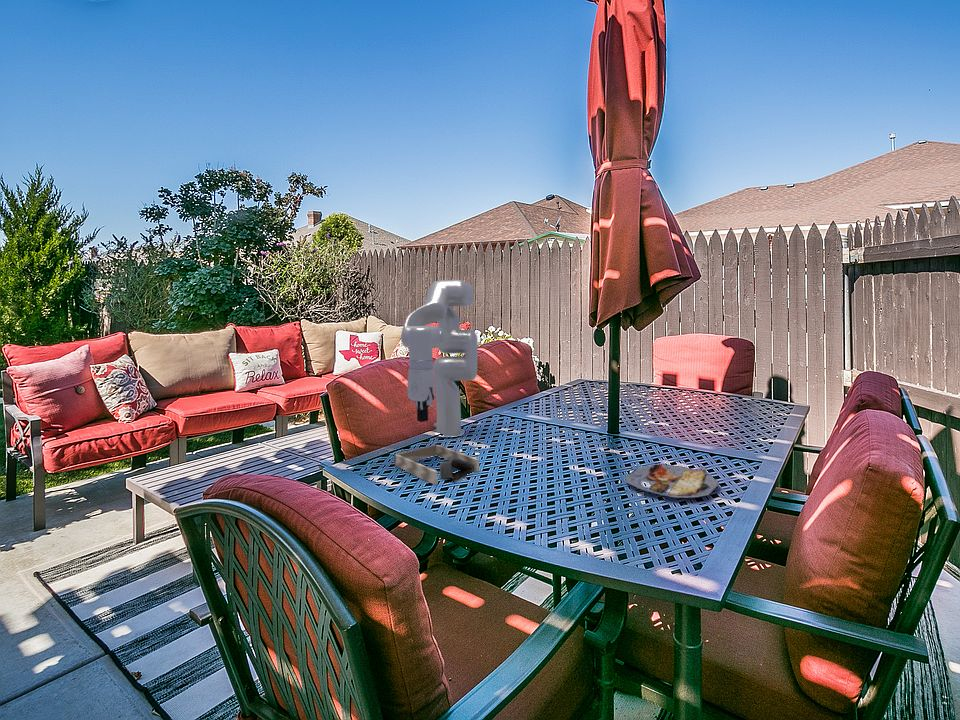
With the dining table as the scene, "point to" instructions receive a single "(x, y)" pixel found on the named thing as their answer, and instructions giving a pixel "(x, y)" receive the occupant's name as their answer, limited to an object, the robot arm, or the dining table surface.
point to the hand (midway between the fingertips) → (422, 420)
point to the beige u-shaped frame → (419, 470)
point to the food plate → (665, 475)
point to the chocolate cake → (455, 469)
